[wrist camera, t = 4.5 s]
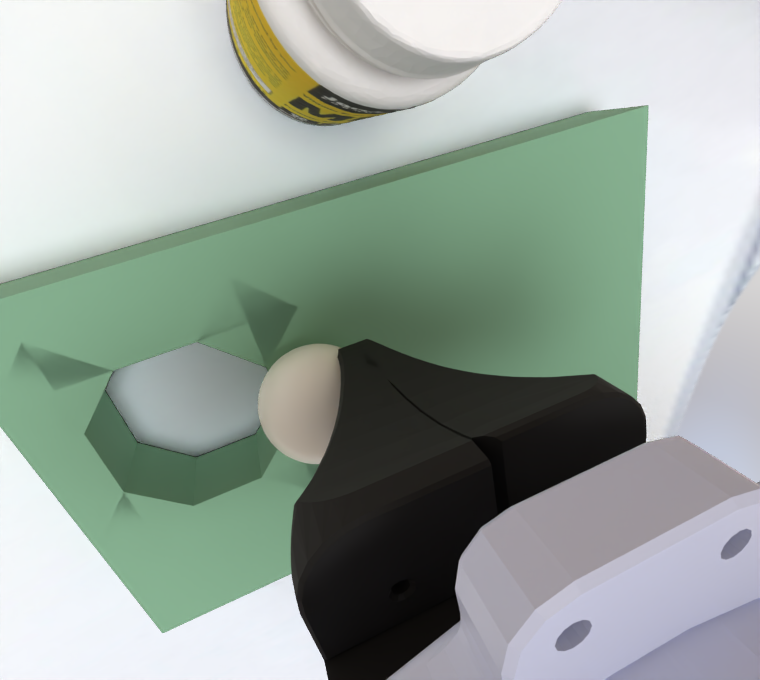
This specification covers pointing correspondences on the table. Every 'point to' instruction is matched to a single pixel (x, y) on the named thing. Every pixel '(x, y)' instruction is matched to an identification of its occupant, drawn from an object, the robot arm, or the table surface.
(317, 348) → the ball
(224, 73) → the table surface
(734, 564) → the robot arm
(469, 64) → the supplement bottle
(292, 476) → the green
